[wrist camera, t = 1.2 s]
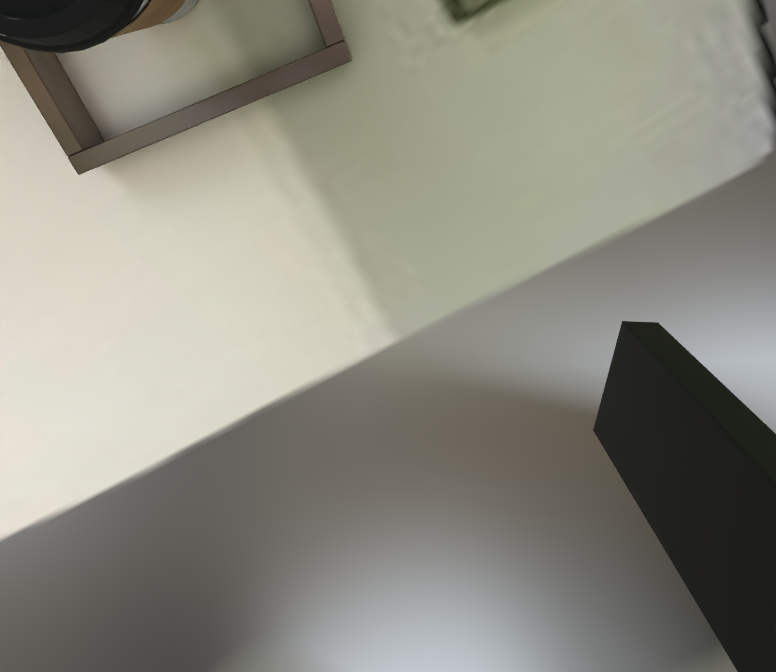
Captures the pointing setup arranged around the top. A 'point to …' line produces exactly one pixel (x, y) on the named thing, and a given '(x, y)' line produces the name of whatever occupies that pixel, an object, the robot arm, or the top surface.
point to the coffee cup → (81, 21)
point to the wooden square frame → (91, 150)
